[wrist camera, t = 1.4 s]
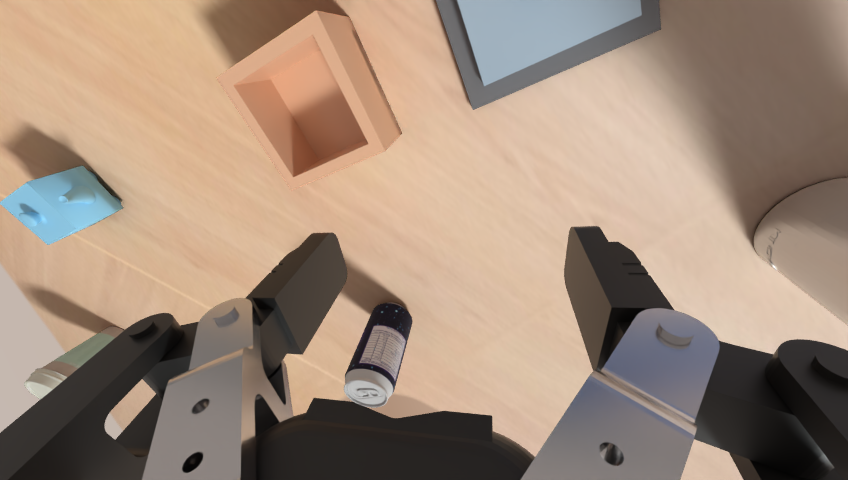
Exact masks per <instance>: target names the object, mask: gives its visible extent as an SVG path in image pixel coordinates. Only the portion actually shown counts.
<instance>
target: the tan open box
mask: <svg viewBox="0 0 848 480" xmlns="http://www.w3.org/2000/svg"><path fill="white" fill-rule="evenodd" d="M216 79H217V80H218V82H219V83H220V85H221V86H222V88H223V89H224V91H225V92H226V94H227V95H228V97H229V98H230V100H231V101H232V103H233V104H234V106H235V107H236V109H237V110H238V112H239V113H240V115H241V116H242V118H243V119H244V121H245V122H246V124H247V125H248V127H249V128H250V130H251V131H252V133H253V134H254V136H255V137H256V139H257V140H258V142H259V143H260V145H261V146H262V148H263V149H264V151H265V152H266V154H267V155H268V157H269V158H270V160H271V161H272V163H273V164H274V166H275V167H276V169H277V170H278V172H279V173H280V175H281V176H282V178H283V179H284V181H285V182H286V183H287V185H288V186H289V188H290V189H291V191H292V190H295V189H297V188H299V187H302V186H304V185H306V184H309V183H311V182H313V181H316V180H318V179H321V178H323V177H325V176H328V175H330V174H332V173H335V172H337V171H339V170H342V169H344V168H346V167H349V166H351V165H353V164H356V163H358V162H360V161H363V160H365V159H367V158H370V157H372V156H375V155H377V154H379V153H382V152H384V151H386V150H387V148H388V147H389V146H390V145H391V144H392V143H393V142H394V141H395V140H396V139H397V138H398V137H399V136H400V135H401V134H402V132H401V130H400V127H399V125H398V123H397V121H396V119H395V116H394V114H393V112H392V110H391V108H390V105H389V103H388V101H387V99H386V96H385V94H384V92H383V90H382V88H381V85H380V83H379V81H378V79H377V77H376V74H375V72H374V70H373V68H372V66H371V63H370V61H369V59H368V57H367V54H366V52H365V50H364V48H363V46H362V43H361V41H360V39H359V37H358V35H357V32H356V30H355V28H354V26H353V24H352V21H351V19H350V17H346V16H341V15H337V14H332V13H327V12H322V11H317V10H316V11H314V12H313V13H311V14H310V15H308V16H307V17H305V18H304V19H302V20H301V21H299V22H298V23H296V24H295V25H293V26H292V27H290V28H289V29H287V30H286V31H284V32H283V33H282V34H280V35H279V36H277V37H276V38H274V39H273V40H271V41H270V42H268V43H267V44H265V45H264V46H262V47H261V48H259V49H258V50H256V51H255V52H253V53H252V54H250V55H249V56H247V57H246V58H244V59H243V60H241V61H240V62H238V63H237V64H235V65H234V66H232V67H231V68H229V69H228V70H226V71H225V72H224V73H222V74H221V75H219V76H218V77H216Z"/></svg>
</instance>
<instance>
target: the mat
mask: <svg viewBox="0 0 848 480" xmlns="http://www.w3.org/2000/svg"><path fill="white" fill-rule="evenodd" d="M640 1H641V12H642V15H641V16H639V17H636V18H634V19H632V20H630V21H628V22H625V23H623V24H621V25H619V26H617V27H614V28H612V29H610V30H608V31H606V32H603V33H601V34H599V35H597V36H594V37H592V38H590V39H588V40H586V41H583V42H581V43H579V44H577V45H575V46H572V47H570V48H568V49H566V50H563V51H561V52H559V53H557V54H555V55H552V56H550V57H548V58H546V59H544V60H541V61H539V62H537V63H535V64H532V65H530V66H528V67H526V68H524V69H521V70H519V71H517V72H515V73H513V74H510V75H508V76H506V77H504V78H502V79H499V80H497V81H495V82H493V83H490V84H488V85H486V86H484V84H483V81H482V78H481V75H480V72H479V68H478V65H477V62H476V59H475V56H474V53H473V49H472V46H471V43H470V40H469V37H468V33H467V30H466V27H465V24H464V21H463V17H462V14H461V11H460V8H459V5H458V1H457V0H436V2H437V5H438V8H439V11H440V14H441V17H442V20H443V23H444V26H445V29H446V32H447V35H448V38H449V41H450V44H451V47H452V49H453V52H454V55H455V58H456V61H457V64H458V67H459V70H460V73H461V76H462V79H463V82H464V85H465V88H466V91H467V94H468V97H469V100H470V103H471V106H472V109H473V110H474V109H477V108H479V107H481V106H484V105H486V104H488V103H491V102H493V101H495V100H498V99H500V98H502V97H504V96H507V95H509V94H511V93H514V92H516V91H518V90H521V89H523V88H525V87H528V86H530V85H532V84H535V83H537V82H539V81H542V80H544V79H546V78H549V77H551V76H553V75H556V74H558V73H560V72H563V71H565V70H567V69H570V68H572V67H574V66H577V65H579V64H581V63H584V62H586V61H588V60H591V59H593V58H595V57H598V56H600V55H602V54H605V53H607V52H609V51H612V50H614V49H616V48H618V47H621V46H623V45H625V44H628V43H630V42H632V41H635V40H637V39H639V38H642V37H644V36H646V35H649V34H651V33H653V32H656V31H658V30H660V29H661V22H660V8H659V0H640Z"/></svg>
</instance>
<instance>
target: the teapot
mask: <svg viewBox="0 0 848 480" xmlns="http://www.w3.org/2000/svg"><path fill="white" fill-rule="evenodd" d="M0 204H1V205H2V206H3V207H4V208H6V209H7V210H8V211H9V212H10V213H11V214H13V215H14V216H15V217H16V218H17V219H18V220H19V221H21V222H22V223H23V224H24V225H25V226H26V227H28V228H29V229H30V230H31V231H32V232H33V233H35V234H36V235H37V236H38V237H39V238H40V239H42V240H43V241H44V242H45V243H46V244H47V245H49V244H52V243H54V242H56V241H58V240H60V239H63V238H65V237H67V236H69V235H71V234H73V233H76V232H78V231H80V230H82V229H84V228H87V227H89V226H91V225H93V224H95V223H97V222H99V221H101V220H103V219H105V218H106V217H108V216H110V215H112V214H114V213H115V212H117V211H119V210H121V209H123V207H122V206H121V202H120V201H119V199H118V198H116V197H114V196H112V195H111V194H110V193H109V192H108V191H107V190H106V189H105V188H104V187H103V186H102V185H101V184H100V183H99V182H98V179H97V177H96V175H95V174H94V173H92V172H90V171H88V170H87V169H86V168H85V167H84V166H83V165H82V166H79V167H76V168H72V169H69V170H65V171H62V172H59V173H55V174H52V175H49V176H45V177H42V178H39V179H35V180H32V181H29V182H27V183H25V184H24V185H23V186H21V187H20V188H18V189H17V190H16V191H14V192H13V193H12V194H10V195H9V196H8V197H6V198H5V199H4V200H2V201H1V202H0Z"/></svg>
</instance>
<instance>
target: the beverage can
mask: <svg viewBox="0 0 848 480" xmlns="http://www.w3.org/2000/svg"><path fill="white" fill-rule="evenodd" d="M411 326H412V317H411V315H410V314H409V312H408V311H407V310H406V309H405V308H404V307H403V306H401V305H399V304H397V303H391V302H390V303H383V304H380V305H378V306H376V307H375V308H374V309H373V311H372V314H371V316H370V318H369V321H368V323H367V325H366V328H365V330H364V332H363V335H362V337H361V339H360V342H359V344H358V346H357V349H356V351H355V353H354V355H353V358H352V360H351V362H350V365H349V367H348V369H347V372H346V374H345V386H344V392H345V394H346V395H347V397H348V398H349V399H351V400H352V401H353V402H355V403H357V404H359V405H362V406H366V407H380V406H383V405H384V404H386V402H387V400H388V398H389V397H390V396H391V395H392V393H393V392H394V389H395V385H396V381H397V378H398V374H399V370H400V366H401V363H402V359H403V355H404V352H405V348H406V344H407V340H408V337H409V333H410V329H411Z"/></svg>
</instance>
